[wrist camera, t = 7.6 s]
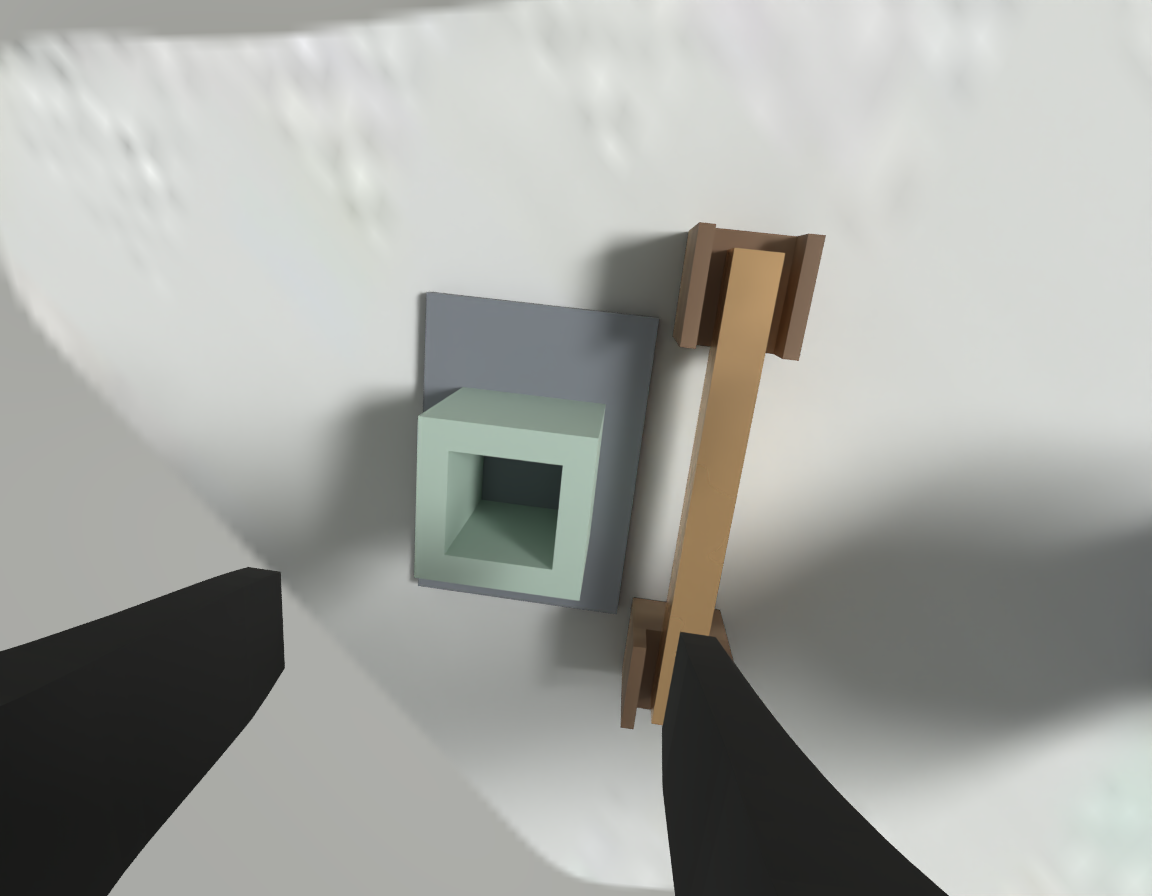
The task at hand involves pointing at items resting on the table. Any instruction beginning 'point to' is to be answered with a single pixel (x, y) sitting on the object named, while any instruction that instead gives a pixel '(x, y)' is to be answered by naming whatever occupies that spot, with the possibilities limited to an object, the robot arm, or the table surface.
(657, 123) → the table surface
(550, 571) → the hollow green cube
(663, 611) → the bar stand
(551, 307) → the slate mat
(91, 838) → the robot arm
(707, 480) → the copper bar
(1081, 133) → the table surface
